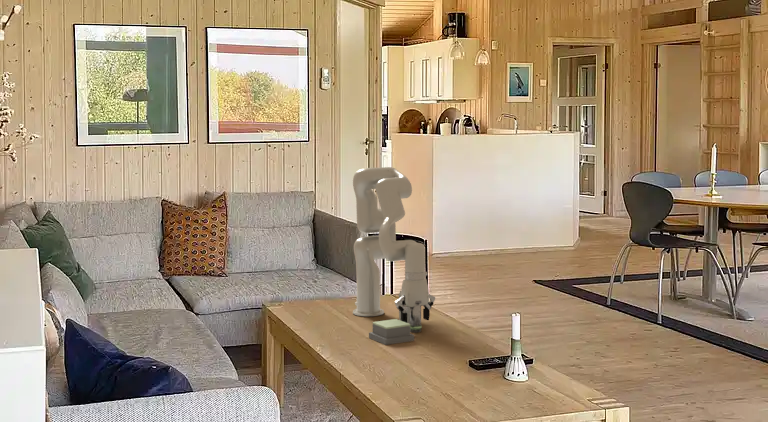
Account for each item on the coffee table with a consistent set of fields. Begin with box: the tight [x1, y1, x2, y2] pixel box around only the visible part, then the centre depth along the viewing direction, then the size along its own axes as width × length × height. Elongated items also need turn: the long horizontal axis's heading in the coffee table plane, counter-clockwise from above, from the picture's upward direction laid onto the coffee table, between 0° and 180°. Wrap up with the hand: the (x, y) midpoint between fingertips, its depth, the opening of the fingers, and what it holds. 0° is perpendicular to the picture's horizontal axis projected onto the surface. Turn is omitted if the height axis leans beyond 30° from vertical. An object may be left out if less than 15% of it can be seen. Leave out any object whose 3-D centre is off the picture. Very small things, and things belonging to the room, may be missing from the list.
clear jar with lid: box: [409, 301, 423, 333], centre depth 366 cm, size 5×5×12 cm
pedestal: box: [368, 318, 415, 346], centre depth 354 cm, size 12×12×6 cm
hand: (415, 321), depth 366 cm, fingers open, 9 cm apart
